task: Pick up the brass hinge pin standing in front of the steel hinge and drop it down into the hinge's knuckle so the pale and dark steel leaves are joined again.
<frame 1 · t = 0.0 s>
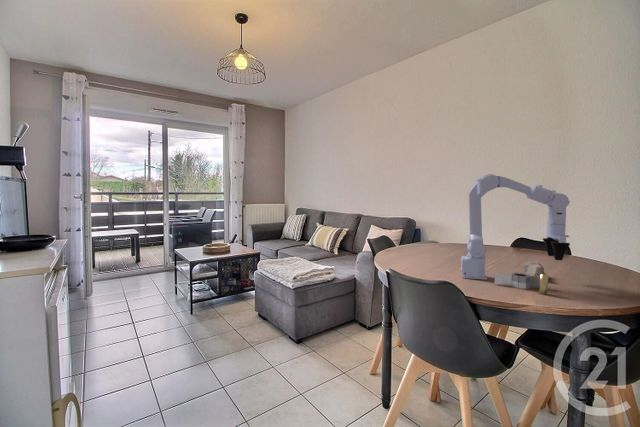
hand: (554, 257, 119), 10 cm above the table, tool pointing down, fingers open, 7 cm apart
mineral specimen: (533, 277, 128), on the table
hinge pin: (543, 293, 108), on the table
hinge: (520, 286, 116), on the table
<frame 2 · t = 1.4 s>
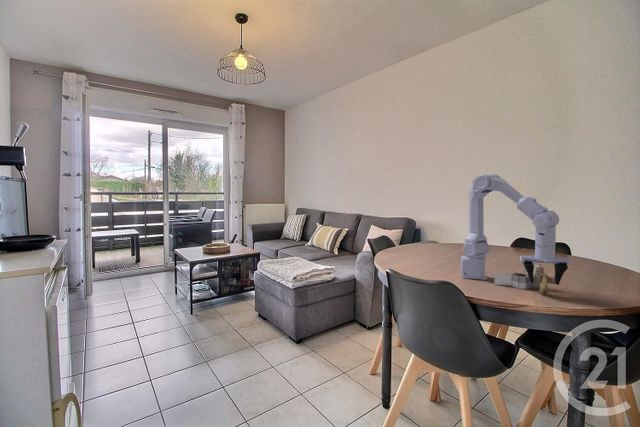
hand: (543, 282, 108), 4 cm above the table, tool pointing down, fingers open, 7 cm apart
nothing on the table moved.
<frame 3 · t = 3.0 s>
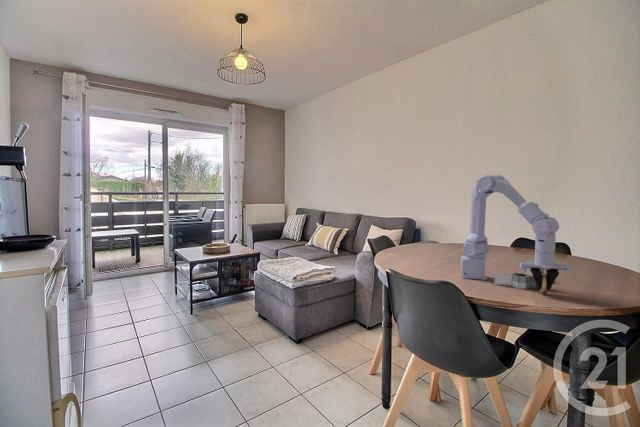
hand: (543, 289, 108), 2 cm above the table, tool pointing down, fingers closed on hinge pin, 2 cm apart
hinge pin: (543, 293, 108), on the table, touching gripper
everything else where it was.
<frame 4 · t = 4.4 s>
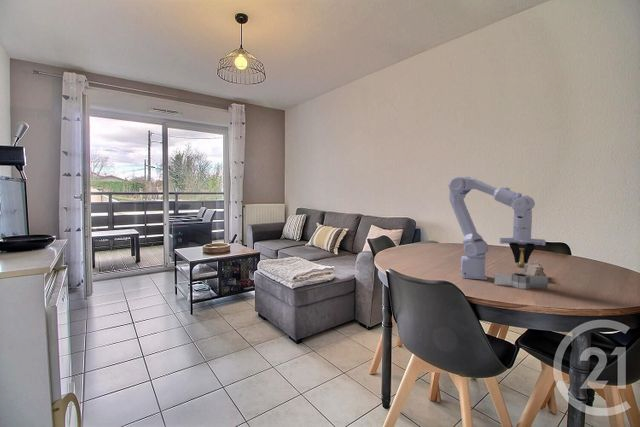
hand: (521, 262, 116), 9 cm above the table, tool pointing down, fingers closed on hinge pin, 2 cm apart
hinge pin: (520, 267, 116), point 8 cm above the table, touching gripper
everything else where it was.
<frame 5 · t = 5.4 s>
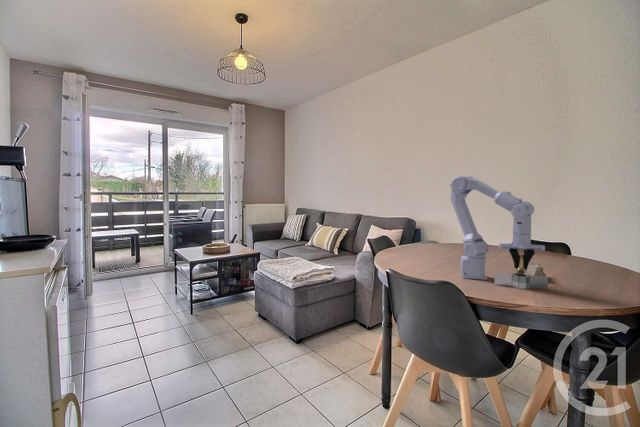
hand: (520, 268, 116), 7 cm above the table, tool pointing down, fingers closed on hinge pin, 2 cm apart
hinge pin: (520, 272, 116), point 5 cm above the table, touching gripper
everything else where it was.
when the fingers open (7 cm above the table, at t = 5.8 s): hinge pin drops 5 cm, resting in hinge.
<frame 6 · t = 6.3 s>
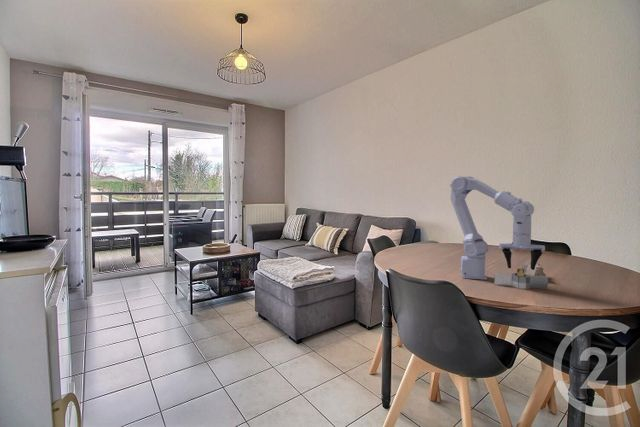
hand: (520, 268, 116), 7 cm above the table, tool pointing down, fingers open, 7 cm apart
hinge pin: (520, 286, 116), resting in hinge
everything else where it was.
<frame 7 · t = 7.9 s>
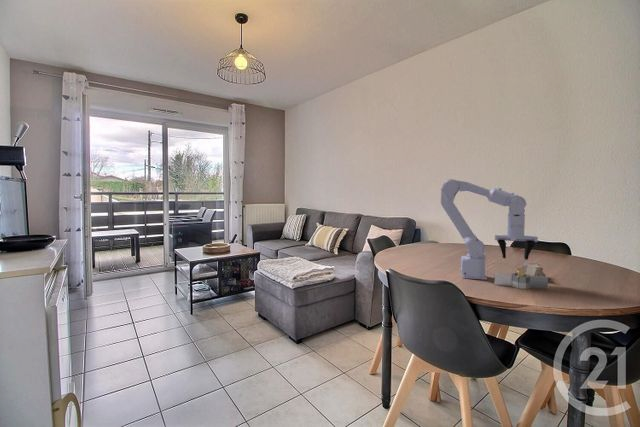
hand: (514, 258, 122), 9 cm above the table, tool pointing down, fingers open, 7 cm apart
nothing on the table moved.
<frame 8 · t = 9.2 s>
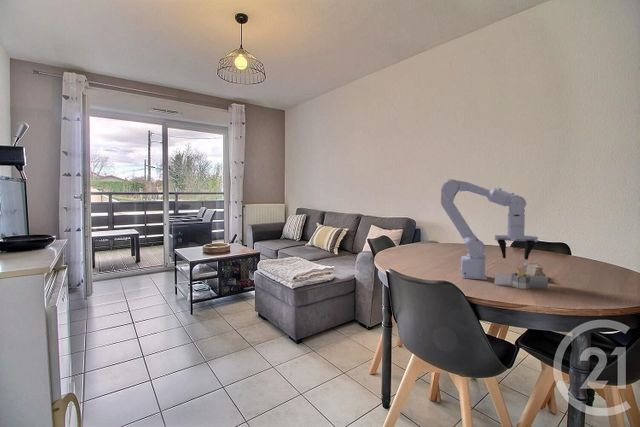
hand: (514, 258, 122), 9 cm above the table, tool pointing down, fingers open, 7 cm apart
nothing on the table moved.
at the end: hinge pin 0.0 cm off-centre on the hinge, point 0.0 cm above the hinge's base; hinge pin tilted 0°; the gripper is holding nothing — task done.
